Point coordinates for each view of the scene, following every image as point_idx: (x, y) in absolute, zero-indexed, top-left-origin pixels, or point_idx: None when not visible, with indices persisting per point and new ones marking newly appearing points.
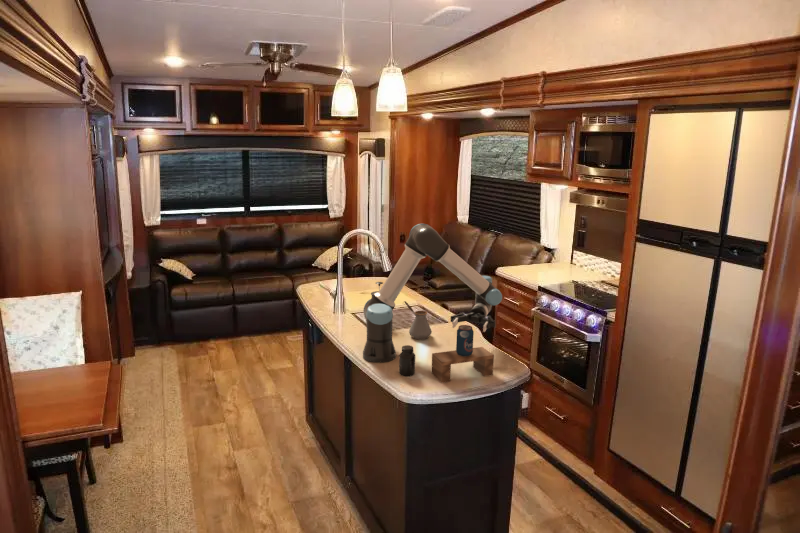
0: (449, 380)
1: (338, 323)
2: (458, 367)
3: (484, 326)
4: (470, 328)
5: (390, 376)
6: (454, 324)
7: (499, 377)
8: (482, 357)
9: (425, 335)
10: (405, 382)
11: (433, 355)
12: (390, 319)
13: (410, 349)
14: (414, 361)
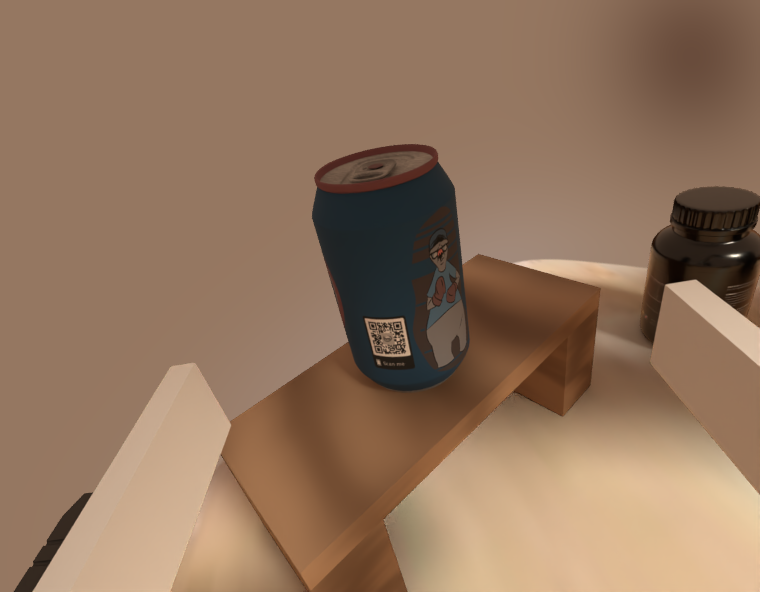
0: None
1: None
2: (506, 535)
3: (182, 370)
4: (331, 179)
5: None
6: (666, 330)
7: (226, 508)
8: (292, 384)
9: None
10: (610, 286)
11: (577, 286)
12: None
13: (677, 198)
14: (651, 273)
